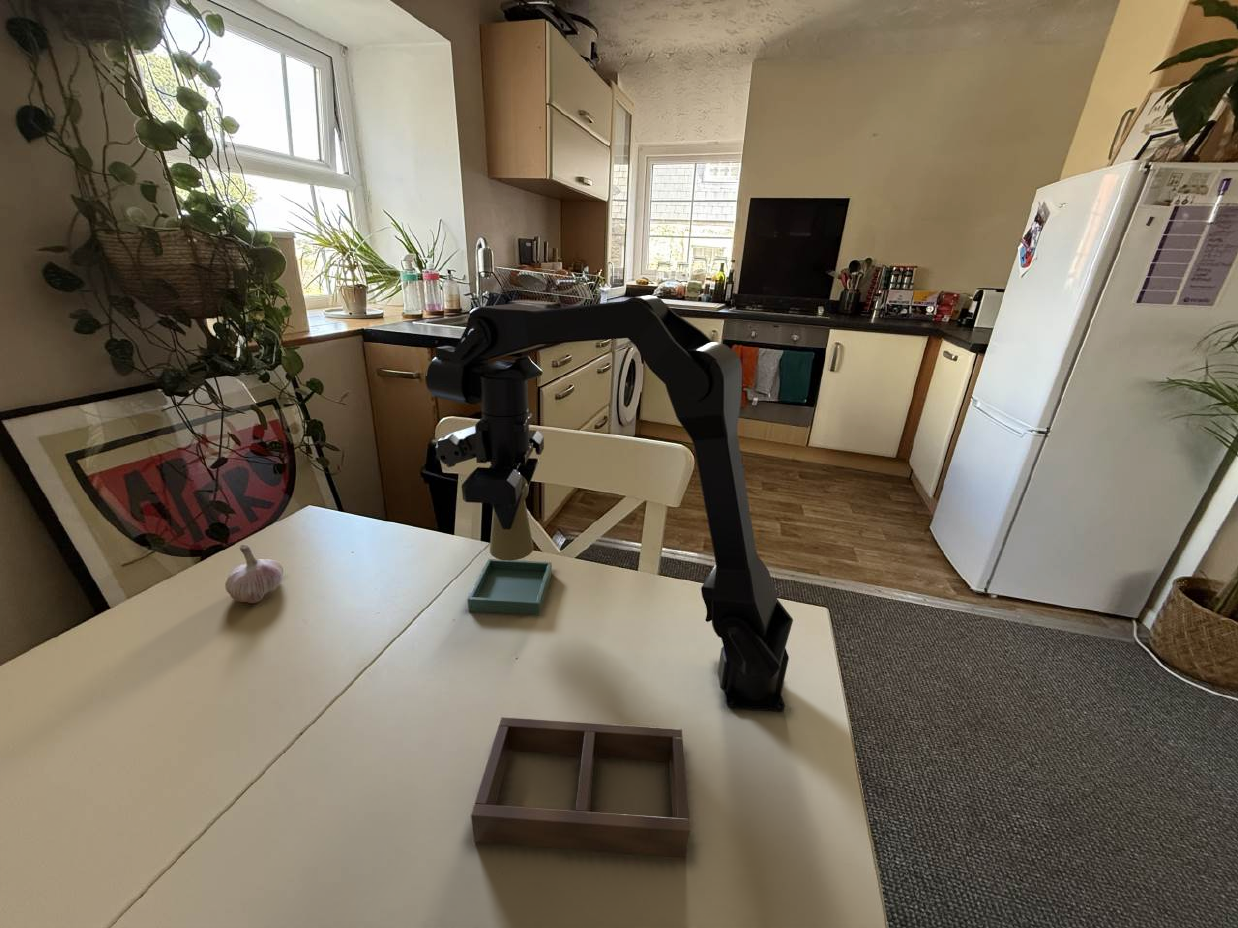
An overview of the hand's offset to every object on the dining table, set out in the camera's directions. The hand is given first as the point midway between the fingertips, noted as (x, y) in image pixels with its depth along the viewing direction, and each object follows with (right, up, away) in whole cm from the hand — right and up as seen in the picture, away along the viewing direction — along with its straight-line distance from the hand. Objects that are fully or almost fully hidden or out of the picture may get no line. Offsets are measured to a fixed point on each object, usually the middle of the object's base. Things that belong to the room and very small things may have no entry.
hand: (511, 520), depth 68 cm
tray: (-1, -11, +6) cm, 13 cm away
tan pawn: (0, -4, +2) cm, 5 cm away
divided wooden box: (+12, -23, -22) cm, 34 cm away
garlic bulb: (-37, -11, +4) cm, 39 cm away
